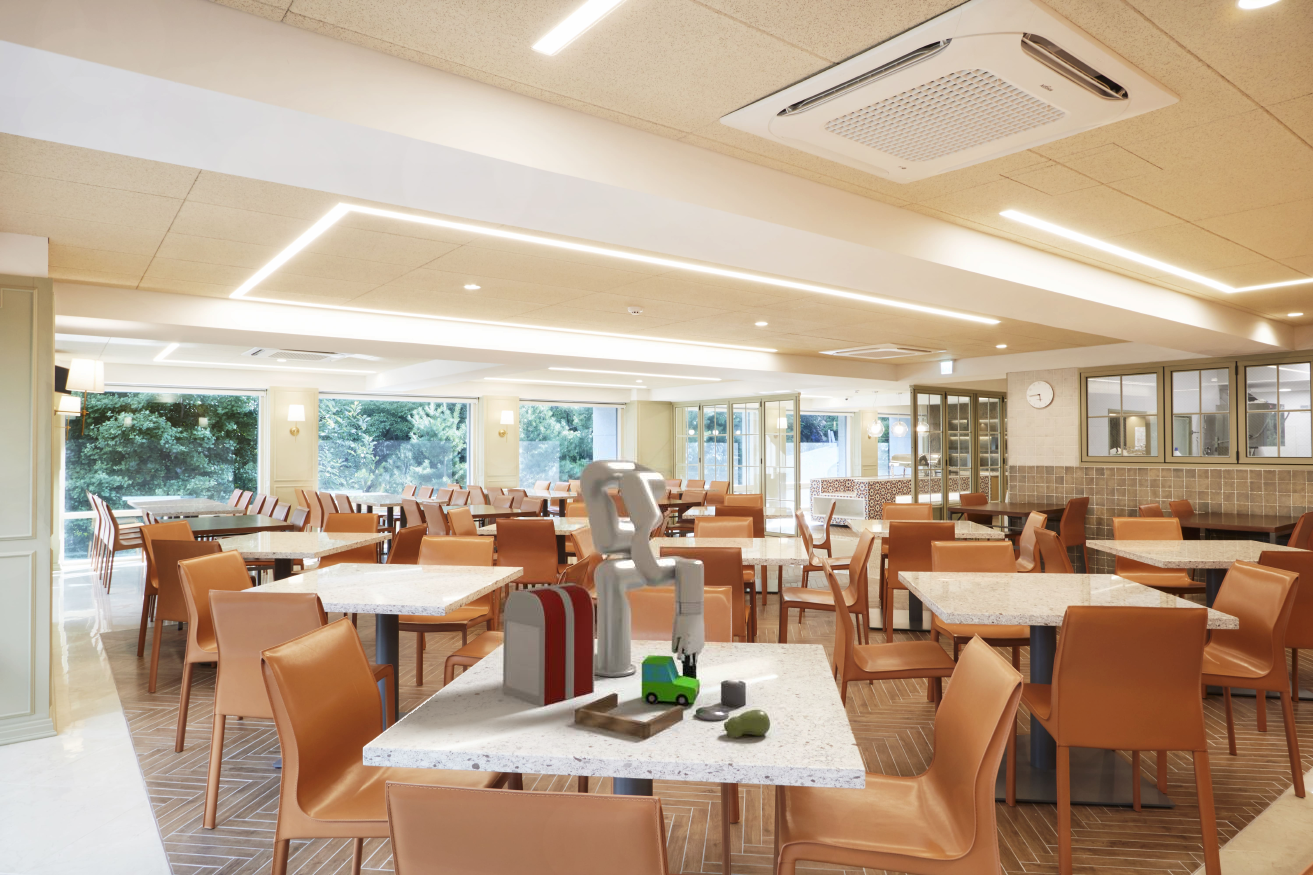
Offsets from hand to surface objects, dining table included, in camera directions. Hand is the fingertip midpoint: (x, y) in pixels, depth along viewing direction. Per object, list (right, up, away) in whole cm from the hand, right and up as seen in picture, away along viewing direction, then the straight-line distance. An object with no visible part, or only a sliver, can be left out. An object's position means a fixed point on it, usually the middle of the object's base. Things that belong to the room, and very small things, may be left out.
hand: (689, 679), depth 197 cm
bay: (-14, -2, -23) cm, 27 cm away
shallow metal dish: (+4, -2, -19) cm, 20 cm away
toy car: (-5, -3, -8) cm, 10 cm away
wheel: (+10, -3, -10) cm, 15 cm away
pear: (+11, -2, -32) cm, 34 cm away
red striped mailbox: (-36, -3, -1) cm, 36 cm away
